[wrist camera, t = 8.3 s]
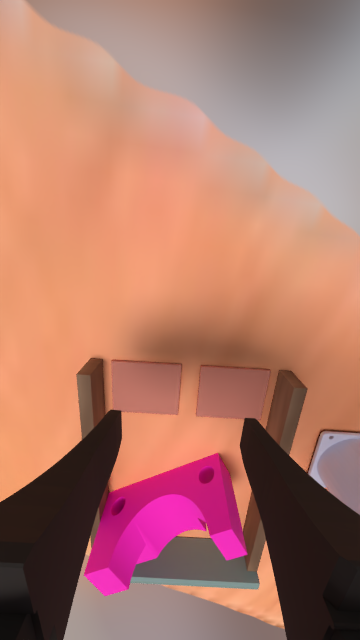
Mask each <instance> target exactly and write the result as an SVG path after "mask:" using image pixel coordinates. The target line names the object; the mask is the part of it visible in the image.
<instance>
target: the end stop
mask: <svg viewBox="0 0 360 640" xmlns="http://www.w3.org/2000/svg"><path fill="white" fill-rule="evenodd" d="M130 583H146V584H164V585H183V586H202V587H221V588H241V589H258V588H259V584H260V583H259V579H258V574H257V572H253V571H247V567H246V563H245V558H244V556H241V557H237V558H234V559H231V560H226V559H225V557H224V556H223V554H222V553H221V552H220V550H219V549H218V547H217V546H216V544H215V543H214V541H213V540H212V539H206V538H188V537H174V538H173V539H172V540H171V541H170V542H168V543H167V545H166V546H165V547H164V548H163V549H162V551H161V552H160V554H159V555H158V557H157V558H155V559H152V560H149V561H146V562H142V563H139V564H136V566H135V569H134V571H133V574H132V578H131V581H130Z"/></svg>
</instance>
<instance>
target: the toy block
mask: <svg viewBox="0 0 360 640" xmlns="http://www.w3.org/2000/svg"><path fill="white" fill-rule="evenodd" d="M206 523H207V526H208V530H209V534H210V537H211V538H212V540H213V541H214V543H215V544H216V546H217V547H218V549H219V550H220V552H221V553H222V554H223V556H224V557H225V559H226V560H231V559H234V558H237V557H241V556H244V555H248V554H247V549H246V545H245V540H244V536H243V531H242V527H241V522H240V518H239V513H238V509H237V504H236V499H235V495H234V490H233V486H232V481H231V477H230V474H229V472H228V470H227V468H226V467H225V465H224V463H223V461H222V460H221V458H220V456H219V454H218V453H216V454H214V455H211V456H208V457H205V458H203V459H200V460H197V461H194V462H192V463H189V464H186V465H183V466H181V467H178V468H175V469H173V470H170V471H167V472H164V473H162V474H159V475H156V476H153V477H151V478H148V479H145V480H142V481H140V482H137V483H134V484H131V485H129V486H126V487H123V488H121V489H118V490H115V491H112V492H110V493H109V494H108V498H107V501H106V504H105V507H104V511H103V514H102V517H101V521H100V524H99V527H98V530H97V534H96V537H95V540H94V543H93V547H92V550H91V553H90V556H89V560H88V563H87V567H86V569H85V573H84V576H85V577H86V578H87V579H88V580H89V581H90V582H91V583H93V585H94V586H95V587H96V588H98V590H99V591H100V592H101V593H102V594H103V595H104V596H107V595H110V594H114V593H117V592H121V591H124V590H127V589H129V585H130V581H131V578H132V574H133V571H134V569H135V566H136V564H139V563H142V562H146V561H149V560H152V559H155V558H157V557H158V555H159V554H160V552H161V551H162V549H163V548H164V547H165V546H166V545H167V543H168V542H170V541H171V540H172V539H173V538H174V537H175V536H177V535H179V534H180V533H182V532H184V531H188V530H193V529H198V530H203V531H206Z"/></svg>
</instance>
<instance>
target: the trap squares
mask: <svg viewBox="0 0 360 640" xmlns="http://www.w3.org/2000/svg"><path fill="white" fill-rule="evenodd" d="M111 363H112V394H113V410H121V412H135V413H152V414H168V415H178V405H179V391H180V378H181V364H171V363H155V362H139V361H123V360H112V361H111ZM270 372H271V371H270V370H267V369H251V368H235V367H219V366H203V365H201V371H200V380H199V390H198V400H197V409H196V416H201V417H218V418H235V419H245V418H255V419H256V420H260V419H261V414H262V410H263V405H264V400H265V396H266V391H267V386H268V382H269V377H270Z"/></svg>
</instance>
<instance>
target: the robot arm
mask: <svg viewBox="0 0 360 640" xmlns="http://www.w3.org/2000/svg"><path fill="white" fill-rule="evenodd" d="M121 440H122V421H121V410H110V411H109V412H108V413H107V414H106V415H105V416H104V417H103V419H102V420H101V421H100V422H99V423H98V424H97V425H96V426H95V427H94V428H93V429H92V430H91V431H90V432H89V433H88V435H87V436H86V437H85V438H84V439H83V440H82V441H80V442H79V443H78V444H77V445H76V446H75V447H74V448H73V449H72V450H71V451H70V452H69V453H68V454H66V455H65V456H64V457H63V458H62V459H61V460H59V461H58V462H57V463H56V464H55V465H53V466H52V467H51V468H50V469H48V470H47V471H46V472H44V473H43V474H42V475H40V476H39V477H38V478H36V479H35V480H34V481H32V482H31V483H29V484H28V485H26V486H25V487H23V488H22V489H20V490H19V491H17V492H16V493H14V494H13V495H11V496H10V497H8V498H6V499H5V500H3V501H2V502H0V640H63V638H64V634H65V630H66V626H67V622H68V618H69V614H70V610H71V606H72V602H73V598H74V594H75V590H76V587H77V583H78V579H79V575H80V571H81V567H82V564H83V560H84V557H85V553H86V549H87V546H88V542H89V538H90V535H91V531H92V528H93V524H94V521H95V517H96V514H97V511H98V508H99V505H100V502H101V499H102V497H103V494H104V491H105V488H106V486H107V483H108V480H109V478H110V475H111V472H112V470H113V467H114V464H115V461H116V459H117V455H118V452H119V448H120V444H121ZM240 449H241V454H242V459H243V463H244V467H245V470H246V473H247V477H248V480H249V483H250V486H251V489H252V492H253V495H254V498H255V501H256V504H257V507H258V510H259V514H260V517H261V521H262V524H263V529H264V533H265V537H266V541H267V545H268V550H269V554H270V559H271V563H272V567H273V572H274V577H275V581H276V586H277V591H278V596H279V601H280V606H281V611H282V616H283V621H284V626H285V632H286V637H287V640H360V433H349V432H332V431H323V432H322V433H321V434H320V437H319V440H318V443H317V446H316V450H315V453H314V456H313V459H312V462H311V465H310V468H309V471H308V473H306V472H305V471H304V470H303V469H302V468H301V467H300V466H299V465H298V464H297V463H296V462H295V461H294V460H293V459H292V458H291V457H290V456H289V455H288V454H287V453H286V452H285V451H284V450H283V449H282V448H281V447H280V446H279V445H278V443H277V442H276V441H275V440H274V439H273V438H272V437H271V436H270V435H269V433H268V432H267V431H266V430H265V429H264V428H263V426H262V425H261V424H260V423H259V422H258V421H257V420H256V419H255V418H245V420H244V426H243V431H242V436H241V442H240ZM324 487H325V488H327V489H328V491H327V490H326V489H325V488H324Z"/></svg>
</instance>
